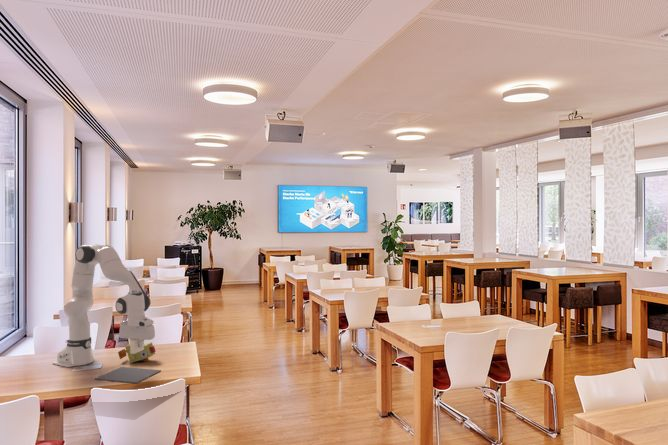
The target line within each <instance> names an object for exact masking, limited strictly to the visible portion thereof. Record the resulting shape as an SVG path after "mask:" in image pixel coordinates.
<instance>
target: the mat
mask: <svg viewBox="0 0 668 445" xmlns="http://www.w3.org/2000/svg"><path fill="white" fill-rule="evenodd" d="M160 371H162V369H153V368H151V369H150V368H138V367H130V366H128V367H126V366H119V367H118V368H115V369H114V370H110V371H108V372H106V373H104V374H102V375H99V376H97V377H95V378H94V380H95V379H97V380H96V381H104V380H108V382H115V381H119V382H118V383H125V382H126V383H128V384H139V383H141V382H142V380H143V381H145V380H147V379H148V377H149V378H151V377H153V376H155V375H157V374H159V373H160ZM158 372H159V373H158ZM156 373H157V374H156ZM154 374H155V375H154ZM152 375H153V376H152ZM150 376H151V377H150ZM146 378H147V379H146ZM144 379H145V380H144Z"/></svg>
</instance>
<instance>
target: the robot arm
mask: <svg viewBox="0 0 668 445" xmlns="http://www.w3.org/2000/svg"><path fill="white" fill-rule="evenodd" d="M97 264H99V266H100V269H101V273H102V274H103V275H104V277H105V278H107V279H108V280H110V281H114V282H120V283H124V284H126V285H127V286H128V287H129V289H130V291H129V292H127V294H126V295H124V296H120V297H119V298H117V300H116V301H115V310H116V311H117V313H118V314H119V315H127V318H126V319H127V320H122V321H121V322H120V324H119V330H118V331H119V332H118V333H119V334H118V336H119V338H120V339H128V340H129V341H130V340H133V339H139V341H140V344H138V347H140V348H141V347H142V344H143V342H145V340H146V341H150V340H151V341H152V340H154V339H155V337H156V336H155V335H156V334H155V333H156V332H155V326H154V324H155V323H154V320H153V319H151V318H148V317H147V316H146V314H145V312H146V311H147V310H148V309H149V308H150V306H151V299H150V296H149V295H148V294H147V293H146V292H145V291H144V289H143V287H142V285H141V284H140V282H139V281H138V279H137V277H136V276H135V274H134V273H133V272H132V270H129V269H128V267H127V268H126V266H125V264H123V262H122V260H121V258H120V256H119V254H118V253H117V250H116V249H115V248H114V246H111V245H108V244H107V245H104V244H82V245H79V246H78V247H77V248H76V250H75V263H74V266H73V272H72V278H71V288H72V298H71V299H69V300H68V301H66V303H65V305H64V306H63V307H64V308H63V311H64V314H65V315H66V319H67V320H66V321H67V324H68V339H67V340H66V341H65V342H64V343H67V344H66V346H64V348H62V349H61V350H60V351H59V352H58V353H57V355H56V356H57V359H56V360H53V362H52V365H56V366H61V367H64V368H71V367H78V366H84V365H89V364H91V363H93V362H94V361H95V358H94V356H93V349H92V337H91V324H90V321H89V318H88V312H89V311H90V310H91V309H92V307H93V305H94V300H93V297H94V296H93V286H94V277H95V271H96V269H95V268H96V266H97Z"/></svg>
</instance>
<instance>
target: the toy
mask: <svg viewBox="0 0 668 445" xmlns="http://www.w3.org/2000/svg"><path fill="white" fill-rule="evenodd" d="M156 352H157V351H156V347H155V345H154V344H153V341H152V342H148V343H145V344H144V350H142V351H140V352H137V353H135V354H130V343H129V344H127V345H125V348H123V349H121V350H120V351H118V352H117V354H118V357H119V360H121V359H124V358H125V357H128V360H129V363H130V364H132V363H135V362H138V361H140V362H142V361H143V362H144V363H145V362H148V361H149V360H150V359H149V358H151V357H153V356H154V355H155V354H156Z"/></svg>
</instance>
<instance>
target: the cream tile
mask: <svg viewBox="0 0 668 445" xmlns="http://www.w3.org/2000/svg"><path fill="white" fill-rule="evenodd" d="M144 342H145V341H144ZM144 342H143V344H142V347H141V348H140V347H138V344H140V341H139V339H133V340H130V339H129V344H130V354H135V353H137V352H140V351H142V350H144V345H145V344H144Z"/></svg>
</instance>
